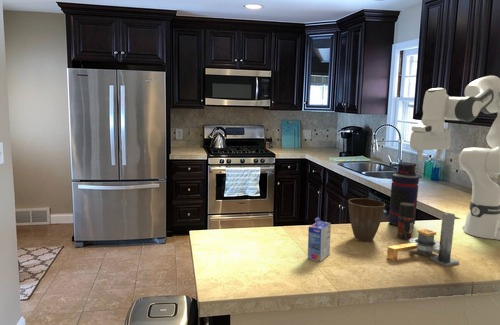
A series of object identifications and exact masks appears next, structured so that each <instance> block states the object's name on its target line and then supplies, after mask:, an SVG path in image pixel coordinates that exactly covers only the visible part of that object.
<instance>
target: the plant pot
mask: <svg viewBox="0 0 500 325" xmlns="http://www.w3.org/2000/svg"><path fill="white" fill-rule="evenodd" d="M385 208H386V204H385V202H383V201H381V200H378V199H377V200H376V199H371V198H351V199H348V212H349V222H350V224H351V230H352V233H353V236H354V239H355V240H356V241H359V242H366V243H369V242H372V241H373V240H374V238H375V237H376V234H377V232H378V230H379V227H380V225H381V222H382V218H383V215H384V212H385Z"/></svg>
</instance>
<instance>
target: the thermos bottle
mask: <svg viewBox="0 0 500 325" xmlns="http://www.w3.org/2000/svg"><path fill="white" fill-rule="evenodd" d="M417 168H418V172H419V173H418V174H417ZM420 173H421V170H420V167H419V166H417V163H414V162H406V161H403V162H398V165H397V171H396V172H395V173H392V177H391V185H390V186H391V188H390V198H389V199H390V200H389V213H388V222H389V223H388V224H389V225H395V226H398V221H399V210H400V203H403V202H405V203H412V204H415V210H414V220H413V227H414V225H415V224H416V214H417V203H418V194H419V184H420V183H419V182H420V181H419V180H420V177H419V175H420Z"/></svg>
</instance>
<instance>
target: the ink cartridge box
mask: <svg viewBox="0 0 500 325" xmlns="http://www.w3.org/2000/svg"><path fill="white" fill-rule="evenodd" d="M314 221H315V223H313V224H311V225H310V226H309V227H308V233H307V234H308V236H307V237H308V238H307V239H308V240H307V241H308V242H307V259H308V260H312V261H316V262H322V261H323V260H324V259H325V258H326V257H328V256H329V255H330V253H331V229H332V224H331V222H327V221H323V220H321V219H320V217H319V216H317V217H315V218H314Z"/></svg>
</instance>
